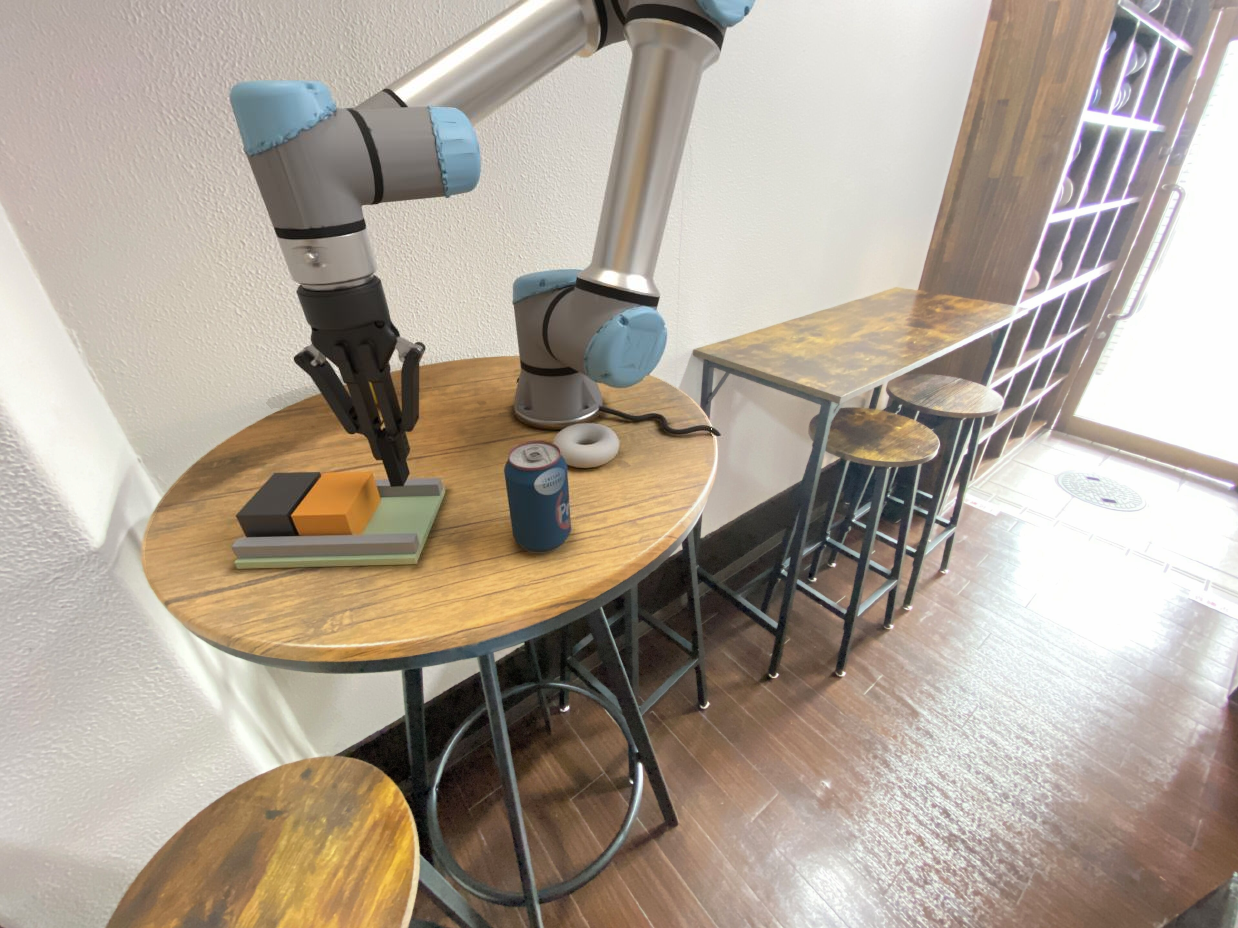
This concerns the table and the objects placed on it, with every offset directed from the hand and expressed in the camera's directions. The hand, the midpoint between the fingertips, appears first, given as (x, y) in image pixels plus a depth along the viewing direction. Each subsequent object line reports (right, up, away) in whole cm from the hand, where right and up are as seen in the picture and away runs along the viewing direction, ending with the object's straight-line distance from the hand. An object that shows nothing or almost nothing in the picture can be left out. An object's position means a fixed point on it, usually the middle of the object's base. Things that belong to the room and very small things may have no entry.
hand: (400, 479), depth 64 cm
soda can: (+17, -7, 0) cm, 19 cm away
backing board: (-7, -6, +2) cm, 9 cm away
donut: (+21, +3, +16) cm, 27 cm away
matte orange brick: (-7, -5, +1) cm, 9 cm away
